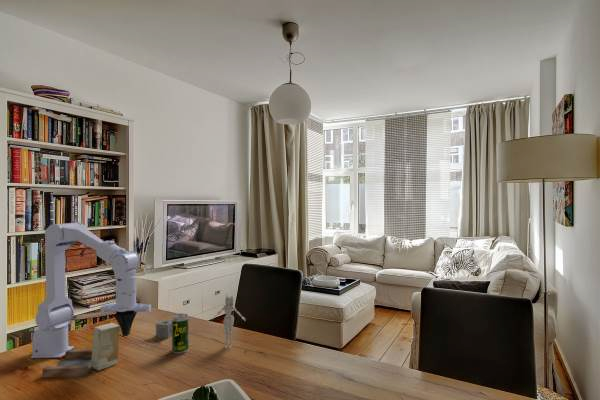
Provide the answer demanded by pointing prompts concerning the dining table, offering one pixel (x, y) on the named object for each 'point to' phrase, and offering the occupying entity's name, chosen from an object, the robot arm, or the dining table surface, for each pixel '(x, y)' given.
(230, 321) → the human figurine
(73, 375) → the u rest
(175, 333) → the beer can
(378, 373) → the dining table surface
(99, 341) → the skincare box
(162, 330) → the dice cube
